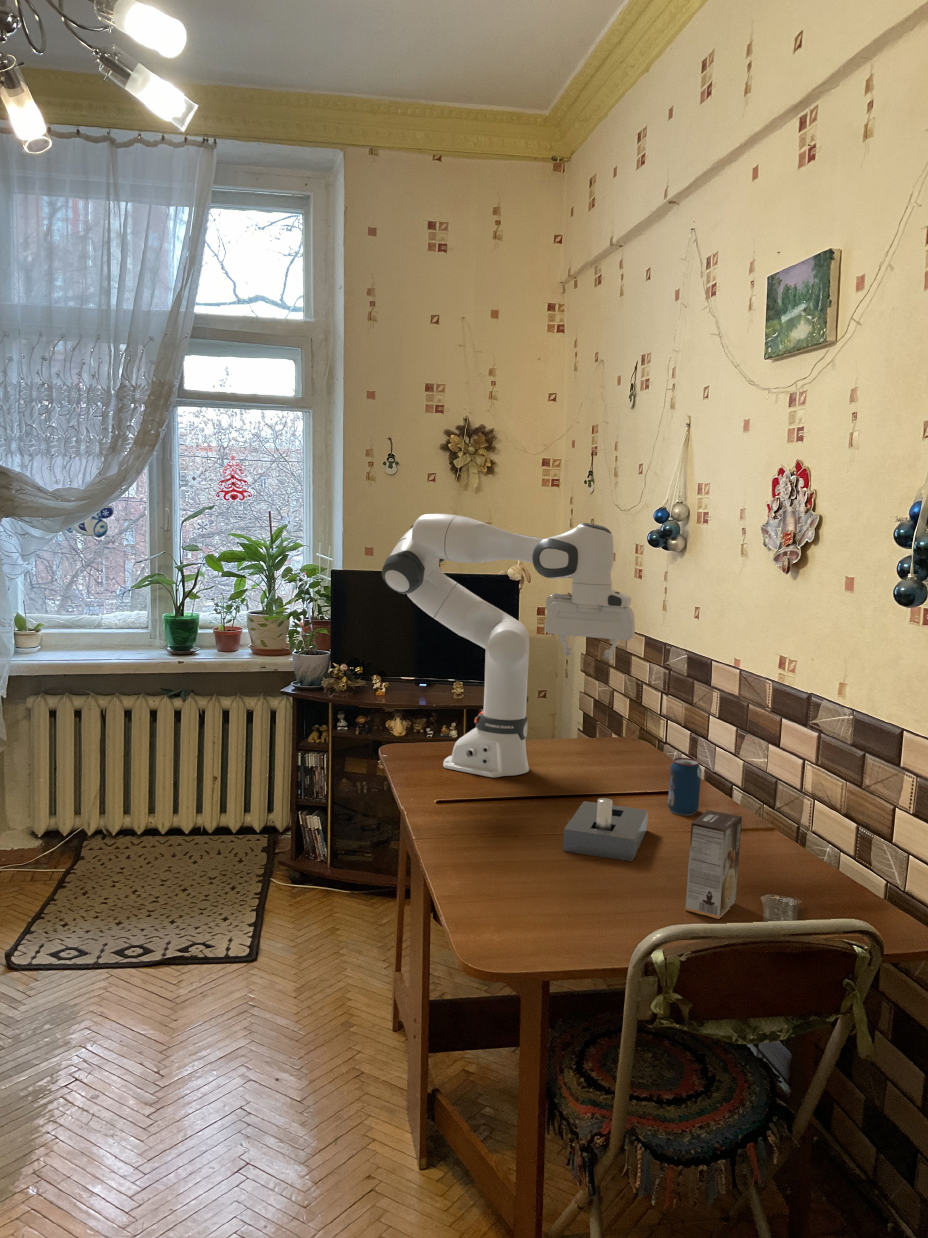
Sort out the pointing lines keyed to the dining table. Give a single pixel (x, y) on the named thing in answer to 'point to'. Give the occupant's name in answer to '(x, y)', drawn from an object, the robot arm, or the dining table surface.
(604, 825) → the steel pin
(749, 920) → the dining table surface
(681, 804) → the soda can
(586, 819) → the grey peg hole block
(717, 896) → the coffee box
